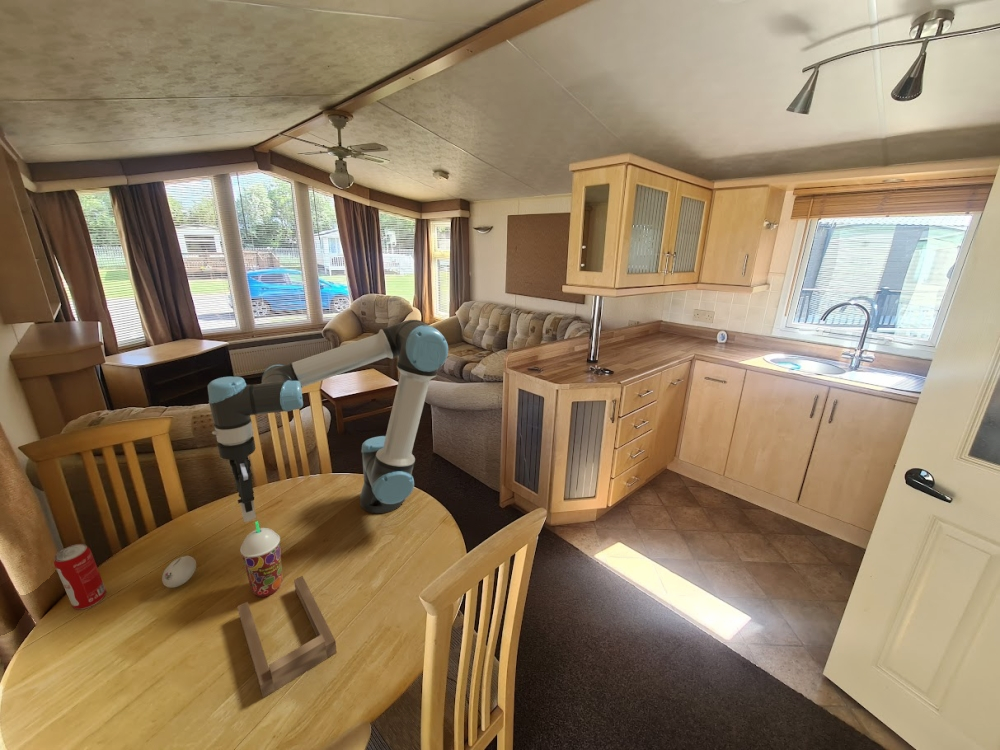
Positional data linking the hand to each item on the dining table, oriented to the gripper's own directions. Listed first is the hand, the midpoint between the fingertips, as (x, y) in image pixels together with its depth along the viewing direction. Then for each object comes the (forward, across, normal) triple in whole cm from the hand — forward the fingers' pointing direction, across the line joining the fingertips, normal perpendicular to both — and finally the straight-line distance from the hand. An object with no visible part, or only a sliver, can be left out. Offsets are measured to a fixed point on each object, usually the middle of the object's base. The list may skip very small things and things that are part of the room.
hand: (249, 519), depth 104 cm
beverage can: (+14, -10, -33) cm, 37 cm away
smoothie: (+14, +12, 0) cm, 18 cm away
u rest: (+13, +28, 0) cm, 31 cm away
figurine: (+14, -3, -16) cm, 21 cm away
